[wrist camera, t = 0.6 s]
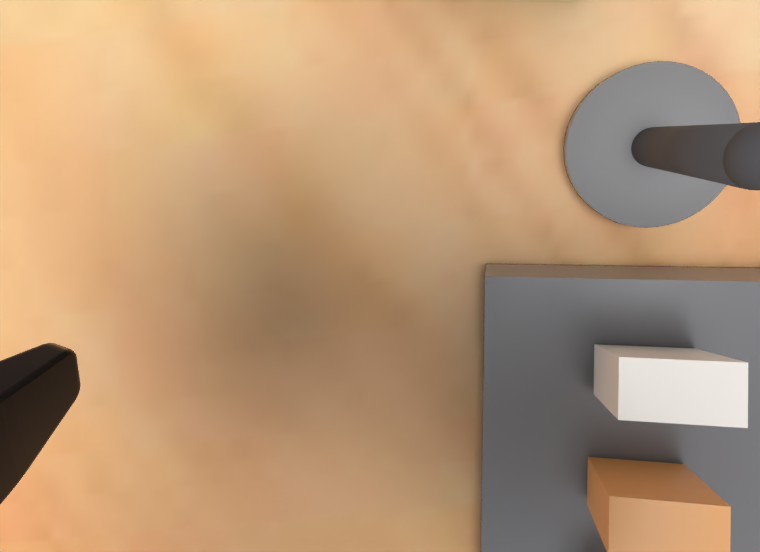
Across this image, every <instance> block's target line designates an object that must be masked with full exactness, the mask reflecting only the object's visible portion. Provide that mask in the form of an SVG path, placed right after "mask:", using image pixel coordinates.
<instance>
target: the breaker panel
mask: <svg viewBox="0 0 760 552" xmlns="http://www.w3.org/2000/svg"><path fill="white" fill-rule="evenodd" d="M594 344H598V345H624V346H649V347H674V348H696V349H700V350H703V351H707V352H711V353H714V354H718V355H722V356H726V357H729V358H733V359H737V360H740V361H744V362H748V428H737V427H721V426H705V425H689V424H674V423H658V422H642V421H626V420H618V419H617V418H616V417H615V416H614V415H613V414H612V413H611V412H610V411H609V410H608V409H607V408H606V407H605V406H604V405H603V404H602V403H601V402H600V401H599V399H598V398H597V397H596V396H595V395H594ZM588 457H597V458H610V459H624V460H637V461H650V462H664V463H677V464H684V465H686V466H687V467H688V468H689V469H690V470H691V471H692V472H693V473H694V474H695V475H697V476H698V477H699V478H700V479H701V480H702V481H703V482H704V483H705V484H706V485H707V486H709V487H710V488H711V489H712V490H713V491H714V492H715V493H716V494H717V495H718V496H720V497H721V498H722V499H723V500H724V501H725V502H726V503H727V504H728V505H729V506H731V536H730V552H760V268H734V267H667V266H600V265H533V264H486V271H485V301H484V373H483V444H482V516H481V552H607V551H606V549H605V546H604V544H603V542H602V539H601V537H600V534H599V532H598V530H597V527H596V525H595V523H594V520H593V518H592V515H591V513H590V511H589V508H588V506H587V471H588Z"/></svg>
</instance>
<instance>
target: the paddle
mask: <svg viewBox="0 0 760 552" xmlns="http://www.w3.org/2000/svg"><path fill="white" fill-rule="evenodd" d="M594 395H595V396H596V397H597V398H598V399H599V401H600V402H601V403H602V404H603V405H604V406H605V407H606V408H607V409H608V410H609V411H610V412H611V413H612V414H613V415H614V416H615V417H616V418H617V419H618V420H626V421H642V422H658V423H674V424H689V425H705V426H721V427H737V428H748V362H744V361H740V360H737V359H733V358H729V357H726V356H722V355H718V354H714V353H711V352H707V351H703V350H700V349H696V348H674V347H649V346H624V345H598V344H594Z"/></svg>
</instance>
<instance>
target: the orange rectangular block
mask: <svg viewBox="0 0 760 552" xmlns="http://www.w3.org/2000/svg"><path fill="white" fill-rule="evenodd" d="M587 506H588V508H589V511H590V513H591V515H592V518H593V520H594V523H595V525H596V527H597V530H598V532H599V534H600V537H601V539H602V542H603V544H604V546H605V549H606V551H607V552H730V536H731V506H729V505H728V504H727V503H726V502H725V501H724V500H723V499H722V498H721V497H720V496H718V495H717V494H716V493H715V492H714V491H713V490H712V489H711V488H710V487H709V486H707V485H706V484H705V483H704V482H703V481H702V480H701V479H700V478H699V477H698V476H697V475H695V474H694V473H693V472H692V471H691V470H690V469H689V468H688V467H687V466H686V465H684V464H677V463H664V462H650V461H637V460H624V459H610V458H597V457H588V471H587Z"/></svg>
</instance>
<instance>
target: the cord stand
mask: <svg viewBox="0 0 760 552" xmlns="http://www.w3.org/2000/svg"><path fill="white" fill-rule="evenodd" d="M564 161H565V167H566V171H567V174H568V177H569V179H570V181H571V184H572V186H573V187H574V189H575V190H576V192H577V193H578V195H579V196H580V197H581V198H582V199H583V200H584V201H585V202H586V203H587V204H588V205H589V206H591V207H592V208H593V209H594V210H595V211H597V212H598V213H600V214H601V215H603V216H604V217H606V218H608V219H610V220H612V221H614V222H617V223H620V224H624V225H628V226H633V227H659V226H665V225H669V224H673V223H676V222H679V221H681V220H684V219H686V218H688V217H690V216H692V215H694V214H695V213H697V212H699V211H700V210H702V209H703V208H704V207H706V206H707V205H708V204H709V203H711V202H712V201H713V200H714V199H715V198H716V197H717V196H718V195H719V193H720V192H721V191H722V190H723V189H724V187H725V186H726V185H730V186H734V187H739V188H743V189H748V190H760V122H758V123H740V119H739V115H738V112H737V109H736V107H735V105H734V102H733V101H732V99H731V97H730V96H729V94H728V93H727V91H726V90H725V89H724V88H723V87H722V86H721V84H719V83H718V82H717V81H716V80H715V79H714V78H713V77H711V76H710V75H708V74H706V73H705V72H703V71H701V70H699V69H697V68H695V67H692V66H689V65H686V64H682V63H676V62H660V61H658V62H649V63H644V64H640V65H636V66H633V67H630V68H627V69H625V70H623V71H621V72H619V73H617V74H615V75H613V76H611V77H609V78H607V79H606V80H604V81H603V82H601V83H600V84H598V85H597V86H596V87H595V88H594V89H593V90H591V91H590V92H589V93H588V94H587V95H586V97H585V98H584V99H583V100H582V101H581V103H580V104H579V105H578V107H577V108H576V110H575V112H574V114H573V116H572V117H571V120H570V122H569V125H568V127H567V131H566V135H565V141H564Z"/></svg>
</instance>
